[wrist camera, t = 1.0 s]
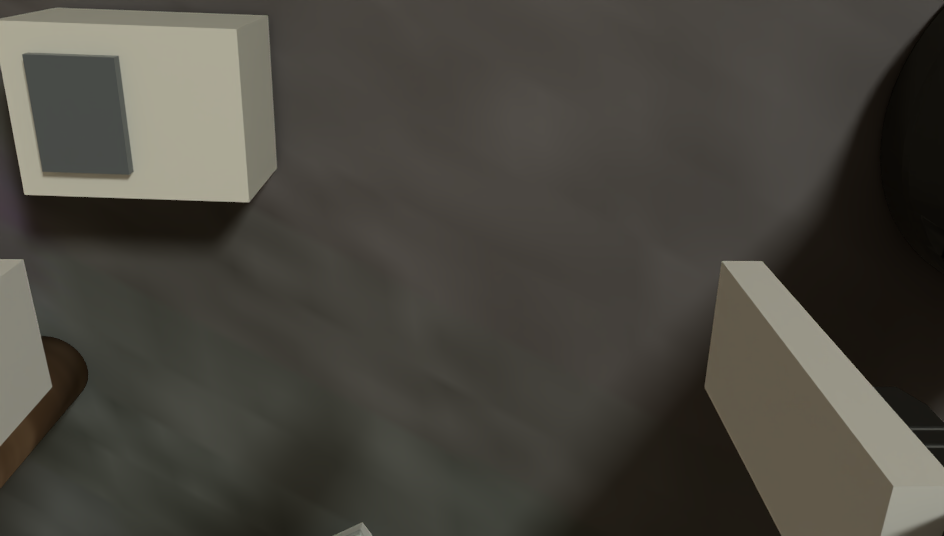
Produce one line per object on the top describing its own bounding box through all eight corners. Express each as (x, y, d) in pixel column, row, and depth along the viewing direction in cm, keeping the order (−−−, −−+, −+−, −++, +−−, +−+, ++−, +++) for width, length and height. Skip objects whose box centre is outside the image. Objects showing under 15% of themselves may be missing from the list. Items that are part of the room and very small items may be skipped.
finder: (268, 15, 31) (233, 30, 26) (276, 168, 33) (246, 206, 29) (56, 7, 31) (-15, 21, 26) (80, 161, 33) (18, 198, 29)
